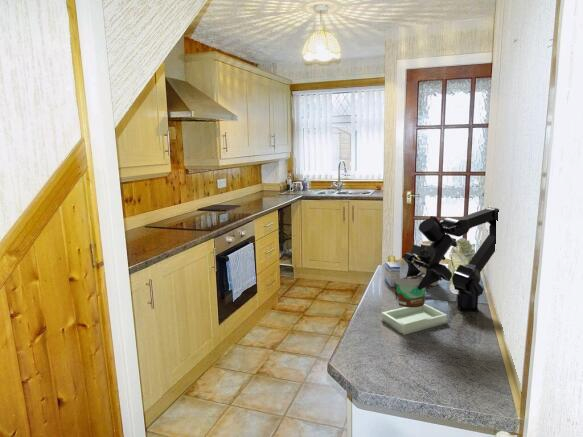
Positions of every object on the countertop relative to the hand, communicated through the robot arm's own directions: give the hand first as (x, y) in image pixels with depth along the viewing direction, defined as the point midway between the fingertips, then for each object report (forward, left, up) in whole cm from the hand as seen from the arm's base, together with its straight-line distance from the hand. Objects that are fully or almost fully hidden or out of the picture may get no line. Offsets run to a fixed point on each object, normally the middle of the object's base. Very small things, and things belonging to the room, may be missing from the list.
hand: (412, 286), depth 141 cm
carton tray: (-1, -1, -13) cm, 13 cm away
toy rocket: (-3, -27, -13) cm, 30 cm away
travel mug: (-10, -40, -13) cm, 44 cm away
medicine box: (+5, -39, -13) cm, 42 cm away
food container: (-1, 0, -7) cm, 7 cm away
